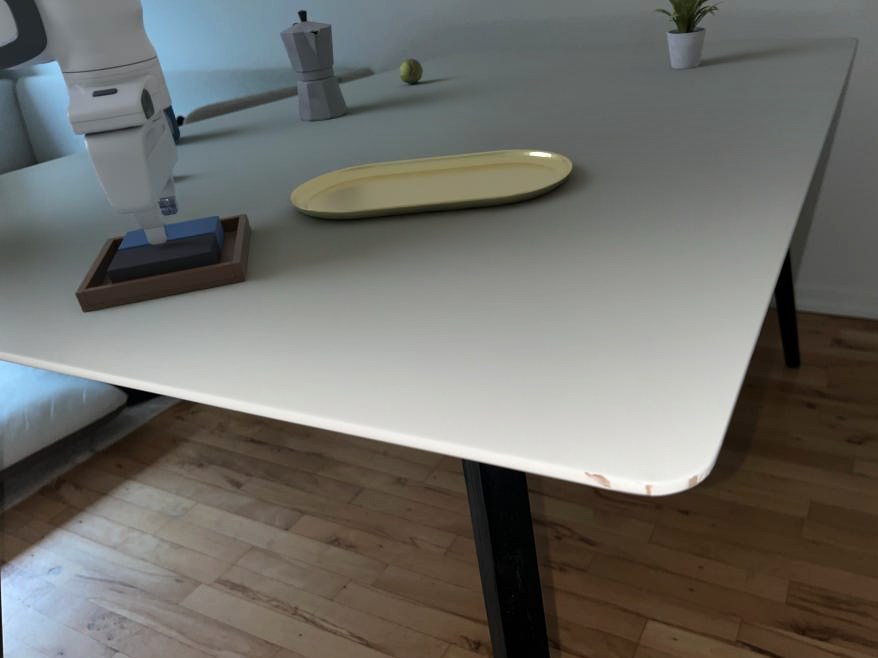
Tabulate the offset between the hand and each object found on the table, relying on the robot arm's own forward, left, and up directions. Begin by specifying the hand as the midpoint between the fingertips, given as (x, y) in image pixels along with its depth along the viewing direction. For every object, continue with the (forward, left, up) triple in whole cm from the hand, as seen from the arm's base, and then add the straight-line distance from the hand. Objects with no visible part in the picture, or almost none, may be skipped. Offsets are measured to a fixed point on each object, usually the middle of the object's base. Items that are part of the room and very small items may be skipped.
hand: (166, 226), depth 80 cm
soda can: (-10, +62, -4) cm, 63 cm away
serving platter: (+30, +7, -4) cm, 31 cm away
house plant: (+87, +53, -4) cm, 102 cm away
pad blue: (0, 0, -3) cm, 3 cm away
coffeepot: (+19, +65, -4) cm, 68 cm away
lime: (+39, +81, -4) cm, 90 cm away
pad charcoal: (0, -6, -3) cm, 7 cm away
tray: (0, -3, -4) cm, 5 cm away
